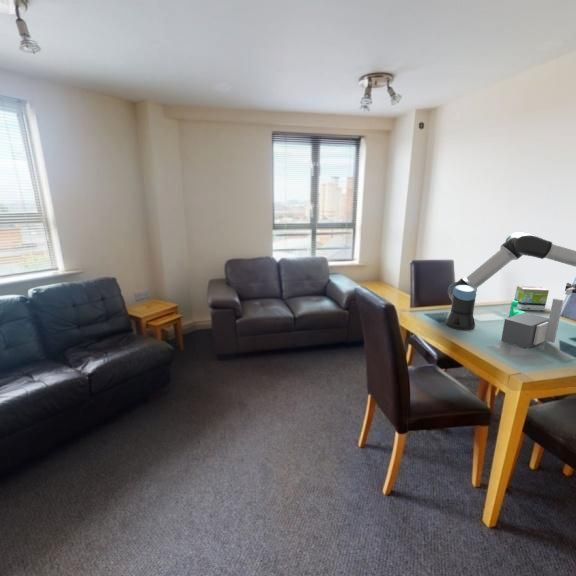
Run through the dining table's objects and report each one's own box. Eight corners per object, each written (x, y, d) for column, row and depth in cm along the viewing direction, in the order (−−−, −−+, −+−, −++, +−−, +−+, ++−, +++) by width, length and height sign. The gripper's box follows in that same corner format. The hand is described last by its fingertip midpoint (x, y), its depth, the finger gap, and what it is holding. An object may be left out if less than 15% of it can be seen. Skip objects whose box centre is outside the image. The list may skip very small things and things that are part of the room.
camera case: (527, 348, 158) (531, 326, 155) (501, 340, 168) (504, 318, 165) (546, 340, 168) (550, 318, 165) (520, 332, 178) (524, 312, 175)
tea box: (520, 310, 217) (524, 289, 213) (512, 305, 226) (516, 285, 223) (545, 311, 214) (549, 289, 210) (536, 306, 224) (540, 286, 220)
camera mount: (523, 320, 197) (526, 304, 195) (508, 318, 202) (511, 302, 199) (524, 315, 207) (526, 300, 204) (509, 313, 211) (512, 298, 209)
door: (544, 347, 156) (553, 303, 150) (533, 344, 160) (541, 301, 154) (554, 343, 161) (563, 300, 155) (543, 339, 165) (551, 298, 159)
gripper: (601, 295, 166) (582, 302, 155) (570, 289, 177) (550, 296, 166) (604, 281, 164) (585, 287, 153) (573, 276, 175) (553, 282, 164)
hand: (567, 292), depth 159 cm, fingers closed
